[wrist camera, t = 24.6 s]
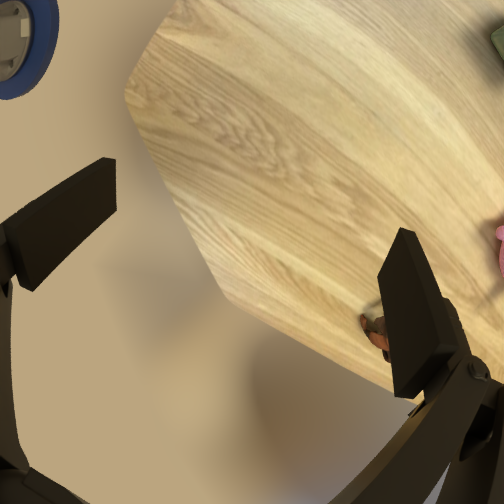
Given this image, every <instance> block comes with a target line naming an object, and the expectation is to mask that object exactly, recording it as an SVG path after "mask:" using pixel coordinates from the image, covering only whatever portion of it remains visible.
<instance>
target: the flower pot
mask: <svg viewBox="0 0 504 504" xmlns="http://www.w3.org/2000/svg"><path fill="white" fill-rule="evenodd" d="M491 41H492V43H493V44H494V46H495V47H496V49H497V51H498V52H499V54H500V56H501V57H502V59H503V61H504V26H502V27H500V28H499V29H497V30H496V31H494V32H493V33H492V34H491Z"/></svg>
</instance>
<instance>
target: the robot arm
mask: <svg viewBox="0 0 504 504" xmlns="http://www.w3.org/2000/svg"><path fill="white" fill-rule="evenodd" d="M34 34H35V21H34V15H33V12H32V10H31V8H30V6H29V5H28V4H27V3H26V2H24V1H8V2H5V3H2V4H0V82H1V81H5V80H8V79H11V78H13V77H14V76H16V75H17V74H18V73H19V72H20V71H21V69H22V68H23V67H24V65H25V63H26V61H27V59H28V57H29V55H30V52H31V49H32V45H33V41H34ZM116 207H117V206H116V160H115V159H111V158H105V157H103V158H101V159H99V160H97V161H96V162H94V163H92V164H90V165H89V166H87V167H85V168H83V169H82V170H80V171H79V172H77V173H75V174H74V175H72V176H70V177H69V178H67V179H66V180H64V181H62V182H61V183H60V184H58V185H56V186H55V187H53V188H52V189H50V190H49V191H47V192H46V193H44V194H43V195H41V196H40V197H38V198H37V199H35V200H33V201H31V202H30V203H28V204H27V205H25V206H24V208H21V209H20V210H18V211H17V213H14V214H13V215H12V216H10V217H9V218H8V219H6V220H5V221H4V222H2V223H1V224H0V504H90V503H88V502H86V501H85V500H83V499H82V498H80V497H78V496H77V495H75V494H74V493H72V492H71V491H69V490H68V489H66V488H65V487H63V486H61V485H59V484H58V483H56V482H54V481H53V480H51V479H49V478H48V477H46V476H44V475H43V474H41V473H39V472H38V471H36V470H35V469H33V468H32V467H30V466H29V463H28V460H27V458H26V456H25V454H24V452H23V450H22V448H21V446H20V444H19V439H18V434H17V428H16V419H15V411H14V402H13V390H12V377H11V348H10V347H11V346H10V345H11V342H10V341H11V340H10V338H11V337H10V336H11V305H12V289H13V285H12V281H11V278H12V277H13V276H14V275H15V274H16V276H17V279H18V282H19V285H20V286H21V287H23V288H25V289H27V290H30V291H32V292H33V291H34V290H35V289H36V288H37V287H38V286H39V285H40V284H41V283H42V282H43V280H45V279H46V277H48V275H49V274H50V273H51V272H52V271H53V270H54V269H55V268H56V267H57V266H58V265H59V264H60V263H61V262H62V261H63V260H64V259H65V258H66V257H67V256H68V255H69V254H70V253H71V252H72V251H73V250H74V249H75V248H76V247H78V246H79V245H80V244H81V243H82V242H83V241H84V240H85V239H86V238H87V237H88V236H89V235H90V234H91V233H92V232H93V231H94V230H96V229H97V228H98V227H99V226H100V225H101V224H102V223H103V222H104V221H106V220H107V219H108V218H109V217H110V216H111V215H112V214H113V213H114V212H115V211H117V208H116ZM377 278H378V283H379V289H380V294H381V300H382V305H383V311H384V317H385V323H386V330H387V337H388V344H389V351H390V359H391V367H392V376H393V385H394V396H395V397H400V398H408V399H414V398H415V397H416V396H417V395H418V394H419V393H420V392H421V391H422V390H423V392H424V398H425V399H424V400H423V401H422V402H421V403H420V404H419V405H418V406H417V407H416V408H415V409H414V410H413V411H411V412H410V413H409V414H408V416H409V418H408V419H407V421H406V422H405V423H404V424H403V425H402V427H401V428H400V429H399V430H398V432H397V433H396V434H395V435H394V436H393V438H392V439H391V440H390V441H389V442H388V443H387V445H386V446H385V447H384V448H383V449H382V450H381V451H380V452H379V453H378V455H377V456H376V457H375V458H374V459H373V460H372V461H371V462H370V463H369V464H368V465H367V466H366V467H365V469H364V470H363V471H362V472H361V473H360V474H359V475H358V476H357V477H356V478H355V479H354V480H353V481H352V482H351V483H349V485H347V486H346V488H344V489H343V490H342V491H341V492H340V493H339V494H338V495H337V496H336V497H335V498H334V499H332V501H330V502H329V503H328V504H423V503H424V501H425V500H426V498H427V497H428V496H429V494H430V493H431V491H432V490H433V488H434V487H435V485H436V484H437V482H438V481H439V479H440V478H441V476H442V475H443V473H444V471H445V470H446V468H447V466H448V465H449V463H450V465H449V469H448V472H447V474H446V477H445V480H444V483H443V486H442V489H441V491H440V494H439V496H438V499H437V502H436V504H504V384H502V383H500V382H498V381H496V380H494V379H492V378H491V376H490V371H489V369H488V367H487V366H486V364H485V363H484V362H483V361H482V360H481V359H479V358H478V357H476V356H474V355H472V353H471V350H470V347H469V344H468V341H467V338H466V335H465V333H464V330H463V329H462V324H461V322H460V321H459V316H458V314H457V311H456V308H455V307H454V306H453V304H452V303H451V302H450V301H449V299H448V298H444V297H442V295H441V292H440V289H439V287H438V284H437V282H436V279H435V277H434V274H433V272H432V270H431V267H430V265H429V262H428V260H427V258H426V256H425V253H424V251H423V249H422V247H421V244H420V242H419V240H418V238H417V236H416V233H415V232H414V231H410V230H407V229H404V228H401V227H400V228H399V230H398V233H397V235H396V237H395V239H394V242H393V244H392V246H391V248H390V251H389V253H388V255H387V257H386V259H385V261H384V263H383V266H382V268H381V270H380V272H379V274H378V276H377Z"/></svg>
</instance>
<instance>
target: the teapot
mask: <svg viewBox="0 0 504 504" xmlns="http://www.w3.org/2000/svg"><path fill="white" fill-rule="evenodd" d="M496 237H497V238H498V239H500V240H501V241H502V243H501V248H500V255H499V263H500V269H501V273H502V276H503V278H504V226H503V225H502V226H499V227H498V228H497V230H496Z"/></svg>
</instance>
